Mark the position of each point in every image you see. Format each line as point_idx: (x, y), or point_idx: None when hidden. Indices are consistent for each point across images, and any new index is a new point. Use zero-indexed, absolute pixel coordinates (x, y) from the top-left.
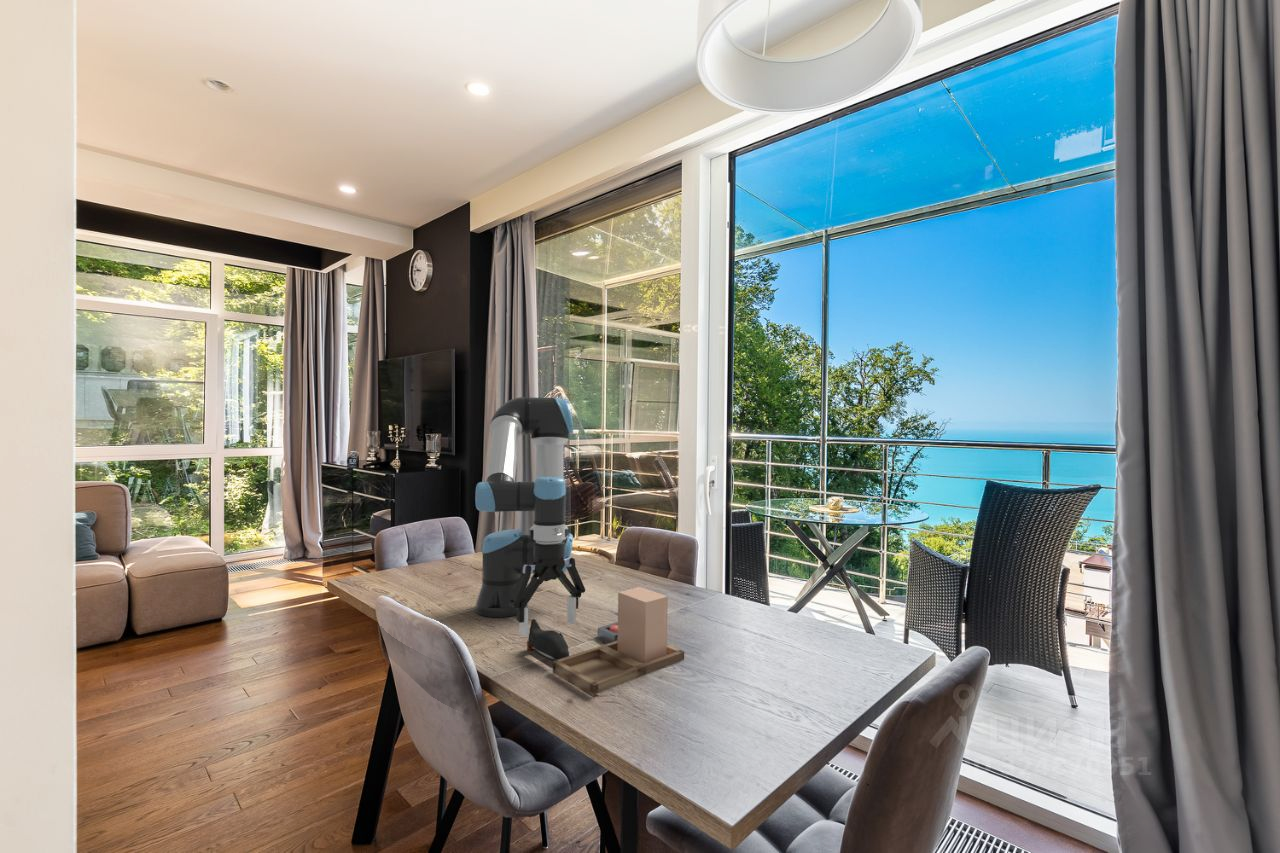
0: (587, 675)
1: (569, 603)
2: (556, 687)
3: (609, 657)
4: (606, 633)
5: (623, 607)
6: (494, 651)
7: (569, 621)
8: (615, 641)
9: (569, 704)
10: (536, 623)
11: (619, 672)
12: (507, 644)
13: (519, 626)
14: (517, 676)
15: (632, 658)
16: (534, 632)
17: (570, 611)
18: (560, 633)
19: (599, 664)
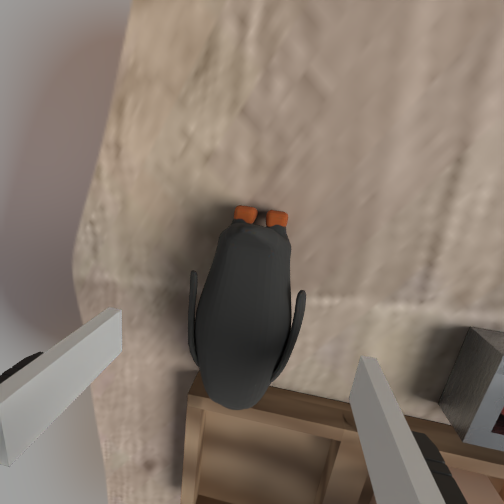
0: (233, 454)
1: (389, 466)
2: (161, 418)
3: (328, 470)
4: (476, 399)
5: None
6: (154, 130)
7: (357, 376)
8: None
9: (141, 471)
10: (258, 241)
11: None
12: (221, 106)
13: (85, 325)
14: (123, 321)
15: (375, 501)
16: (226, 264)
17: (369, 428)
18: (279, 365)
19: (298, 445)
